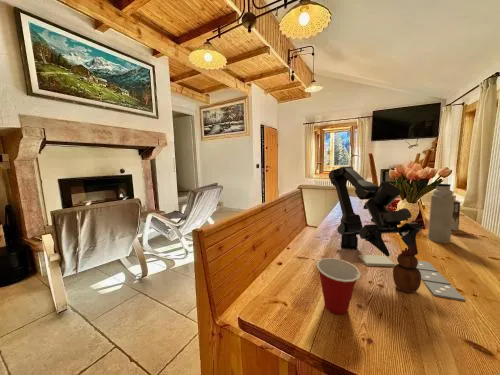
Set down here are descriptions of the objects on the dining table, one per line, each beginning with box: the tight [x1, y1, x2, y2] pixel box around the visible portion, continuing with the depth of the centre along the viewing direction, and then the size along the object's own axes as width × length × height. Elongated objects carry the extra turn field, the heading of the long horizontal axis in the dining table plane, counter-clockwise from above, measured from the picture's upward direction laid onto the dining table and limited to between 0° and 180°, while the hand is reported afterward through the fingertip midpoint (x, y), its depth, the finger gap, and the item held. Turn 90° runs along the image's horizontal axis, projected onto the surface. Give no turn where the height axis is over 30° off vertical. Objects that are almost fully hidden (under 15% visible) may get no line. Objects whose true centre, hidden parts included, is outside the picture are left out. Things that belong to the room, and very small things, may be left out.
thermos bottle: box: [427, 183, 455, 244], centre depth 98 cm, size 8×8×28 cm
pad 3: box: [423, 281, 466, 302], centre depth 61 cm, size 7×7×1 cm
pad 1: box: [416, 260, 439, 272], centre depth 75 cm, size 7×7×1 cm
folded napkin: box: [358, 254, 396, 268], centre depth 80 cm, size 10×7×1 cm
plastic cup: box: [316, 257, 362, 316], centre depth 54 cm, size 11×11×12 cm
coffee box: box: [451, 200, 461, 232], centre depth 115 cm, size 9×6×16 cm
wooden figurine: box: [392, 242, 422, 293], centre depth 61 cm, size 7×6×15 cm
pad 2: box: [419, 270, 451, 285], centre depth 68 cm, size 7×7×1 cm
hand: (402, 255), depth 63 cm, fingers open, 9 cm apart
